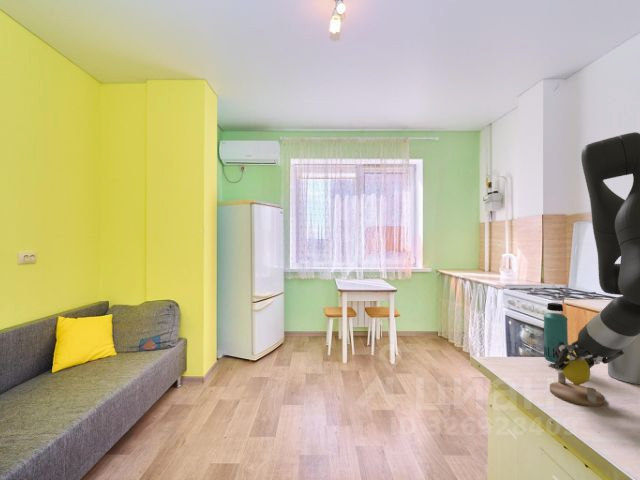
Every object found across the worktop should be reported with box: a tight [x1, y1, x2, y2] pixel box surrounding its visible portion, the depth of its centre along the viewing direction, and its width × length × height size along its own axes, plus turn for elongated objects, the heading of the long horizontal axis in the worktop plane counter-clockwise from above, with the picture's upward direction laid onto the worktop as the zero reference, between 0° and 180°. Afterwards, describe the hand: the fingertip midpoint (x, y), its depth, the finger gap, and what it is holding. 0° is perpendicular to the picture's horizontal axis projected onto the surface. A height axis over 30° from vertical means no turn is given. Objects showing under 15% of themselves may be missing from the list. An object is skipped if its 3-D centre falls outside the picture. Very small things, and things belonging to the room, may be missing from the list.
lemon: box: [562, 354, 591, 386], centre depth 80 cm, size 6×6×8 cm
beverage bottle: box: [542, 302, 569, 364], centre depth 101 cm, size 6×7×20 cm
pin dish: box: [549, 370, 606, 407], centre depth 80 cm, size 11×11×4 cm
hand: (570, 366), depth 82 cm, fingers closed on lemon, 5 cm apart
